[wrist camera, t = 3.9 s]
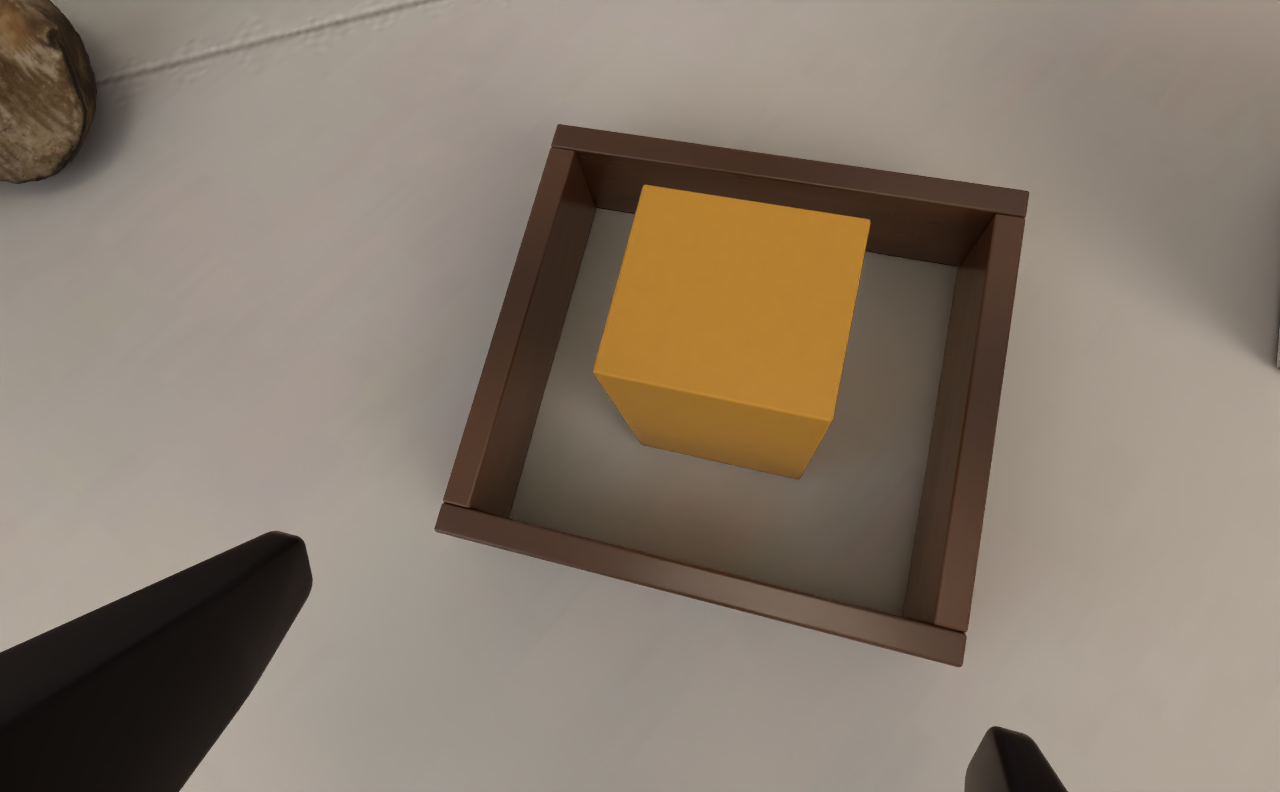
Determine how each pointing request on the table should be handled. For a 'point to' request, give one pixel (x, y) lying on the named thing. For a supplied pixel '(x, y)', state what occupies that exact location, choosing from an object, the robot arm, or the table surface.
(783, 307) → the ochre block
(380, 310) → the table surface
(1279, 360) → the light bulb box
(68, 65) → the fossilized seashell
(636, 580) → the brown wooden square frame
